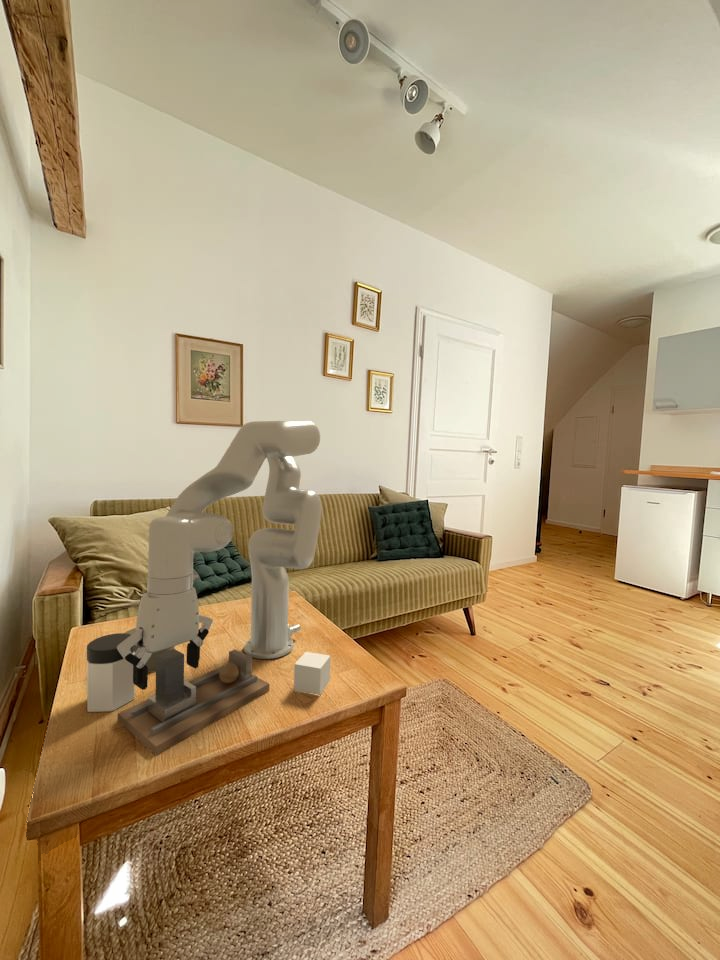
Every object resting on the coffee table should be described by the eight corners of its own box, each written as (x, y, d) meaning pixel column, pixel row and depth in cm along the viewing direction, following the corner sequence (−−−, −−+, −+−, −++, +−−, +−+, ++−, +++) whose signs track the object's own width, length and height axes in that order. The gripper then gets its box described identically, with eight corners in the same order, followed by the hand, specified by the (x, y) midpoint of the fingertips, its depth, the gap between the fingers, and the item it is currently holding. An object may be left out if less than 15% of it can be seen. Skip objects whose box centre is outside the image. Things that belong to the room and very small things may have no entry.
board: (229, 669, 92) (229, 641, 92) (269, 690, 84) (269, 660, 83) (117, 721, 72) (118, 686, 72) (155, 755, 64) (156, 716, 64)
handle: (178, 696, 78) (179, 643, 77) (195, 707, 74) (196, 653, 74) (147, 710, 73) (148, 655, 72) (164, 723, 69) (165, 665, 69)
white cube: (320, 696, 82) (320, 668, 82) (293, 691, 84) (294, 664, 83) (329, 681, 88) (330, 655, 88) (305, 677, 89) (305, 651, 89)
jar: (143, 688, 83) (144, 632, 83) (124, 711, 75) (124, 650, 75) (98, 689, 82) (99, 633, 82) (74, 713, 74) (74, 651, 74)
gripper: (201, 571, 81) (199, 653, 82) (110, 590, 67) (107, 688, 68) (223, 578, 77) (221, 664, 77) (130, 599, 63) (127, 704, 63)
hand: (168, 675), depth 72 cm, fingers open, 9 cm apart
